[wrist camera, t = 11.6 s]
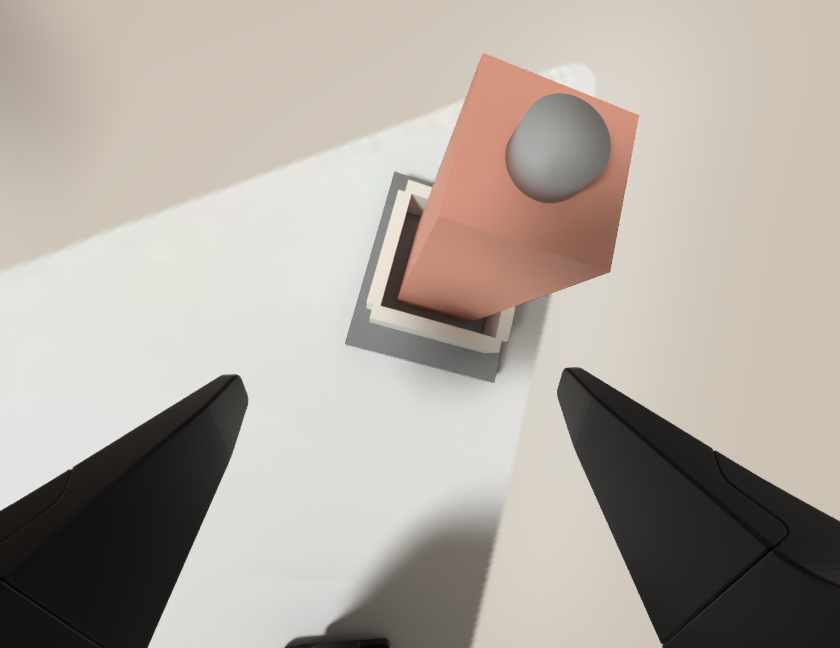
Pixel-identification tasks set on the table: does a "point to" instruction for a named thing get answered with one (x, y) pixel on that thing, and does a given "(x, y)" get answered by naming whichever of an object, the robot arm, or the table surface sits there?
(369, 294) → the grey socket base
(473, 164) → the pink square bar
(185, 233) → the table surface
